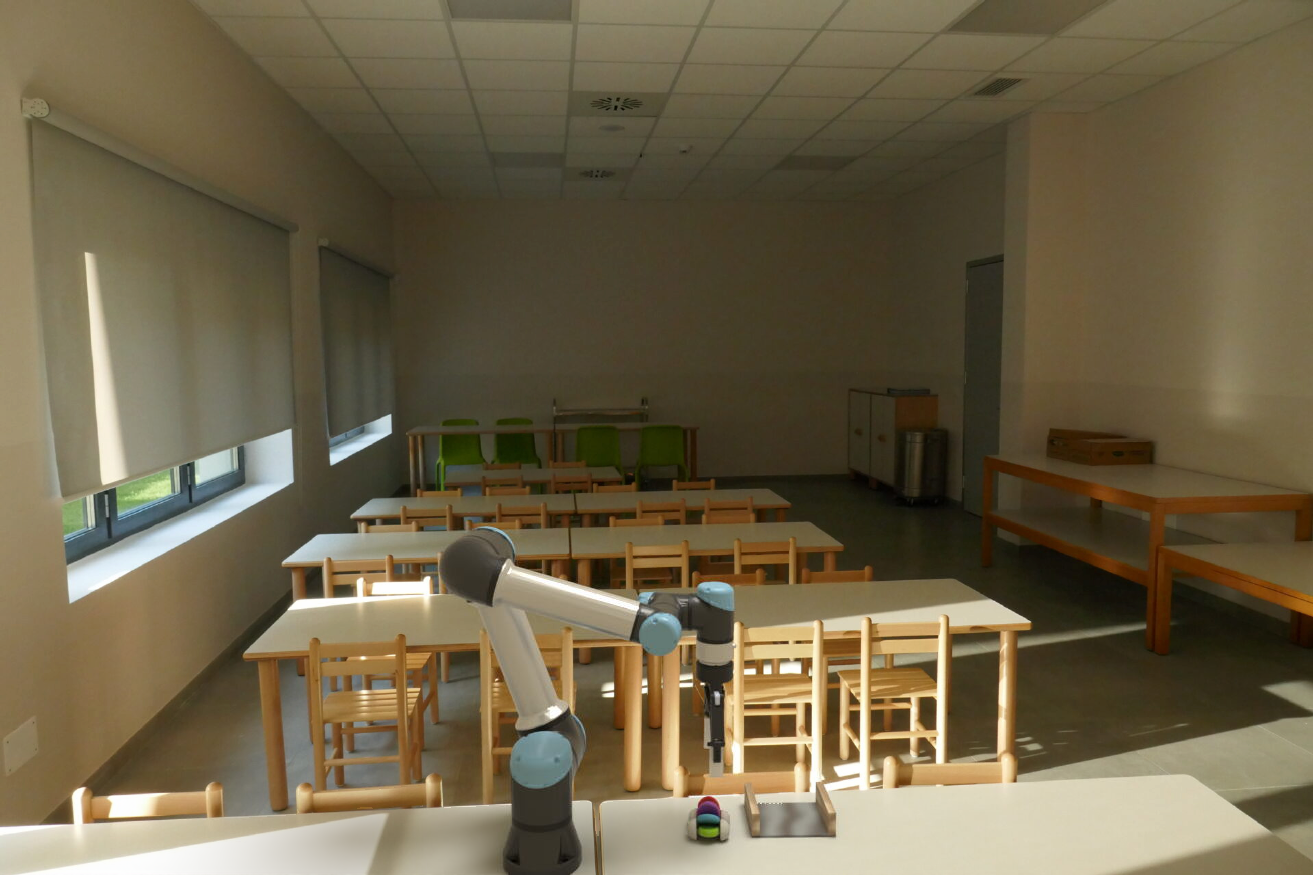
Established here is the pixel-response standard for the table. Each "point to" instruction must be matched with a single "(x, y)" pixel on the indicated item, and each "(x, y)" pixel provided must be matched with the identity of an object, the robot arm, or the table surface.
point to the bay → (791, 816)
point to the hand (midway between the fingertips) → (713, 761)
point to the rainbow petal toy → (708, 820)
